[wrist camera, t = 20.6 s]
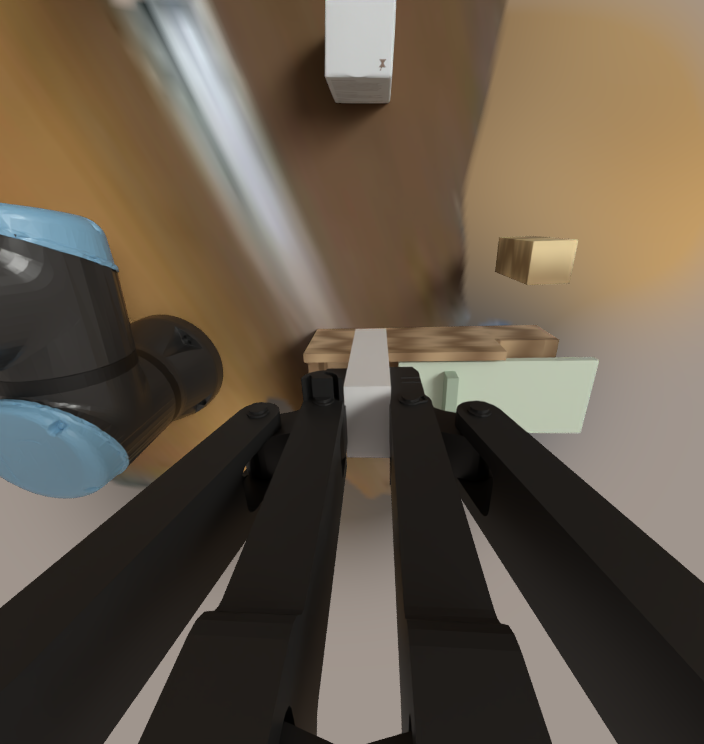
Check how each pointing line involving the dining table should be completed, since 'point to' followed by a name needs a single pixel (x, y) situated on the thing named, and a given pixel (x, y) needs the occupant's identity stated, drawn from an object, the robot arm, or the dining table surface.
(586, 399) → the lid
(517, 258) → the beige wooden block
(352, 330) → the toolbox
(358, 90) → the product box
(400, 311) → the dining table surface
